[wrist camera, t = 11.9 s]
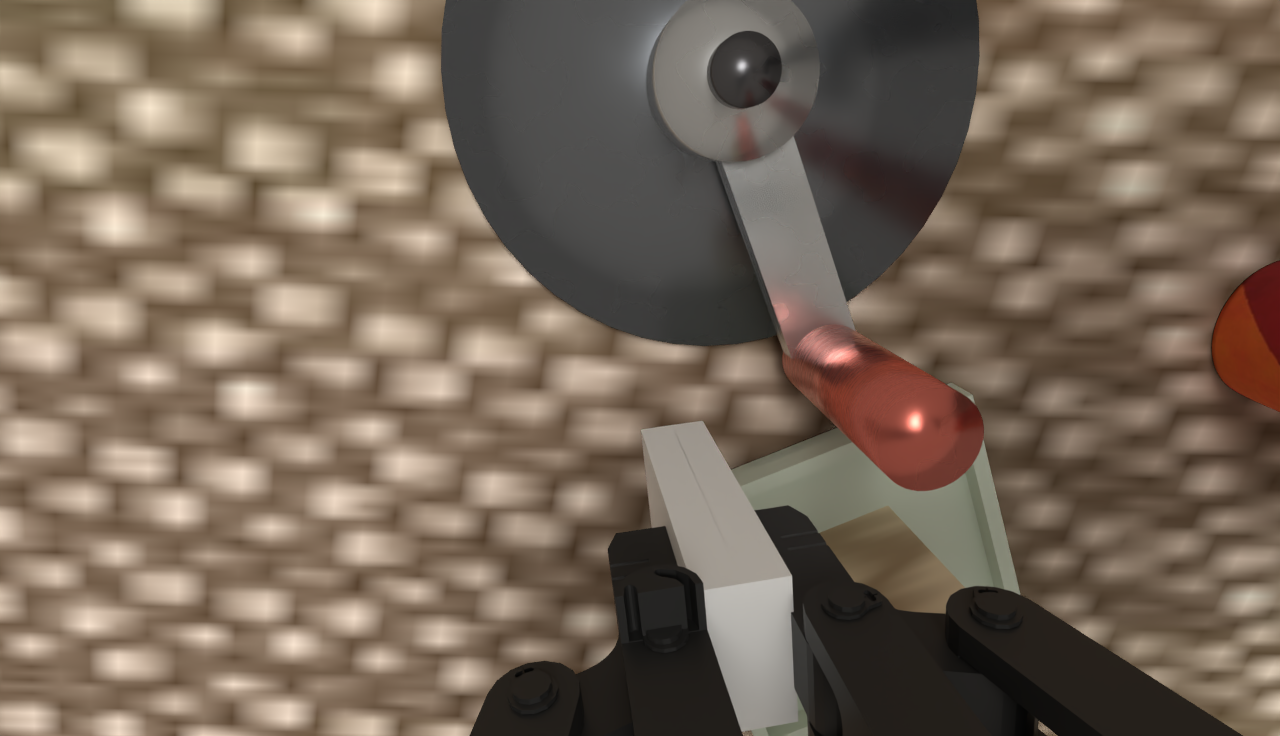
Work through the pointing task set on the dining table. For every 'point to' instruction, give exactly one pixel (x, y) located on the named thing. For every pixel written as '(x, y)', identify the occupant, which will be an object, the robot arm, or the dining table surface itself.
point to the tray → (854, 486)
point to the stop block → (892, 561)
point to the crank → (803, 244)
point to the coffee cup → (1251, 338)
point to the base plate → (680, 183)
